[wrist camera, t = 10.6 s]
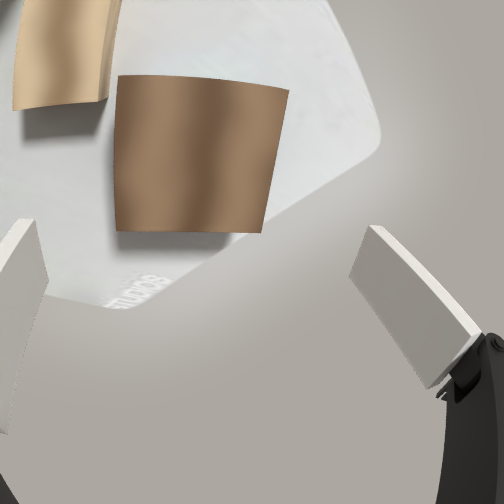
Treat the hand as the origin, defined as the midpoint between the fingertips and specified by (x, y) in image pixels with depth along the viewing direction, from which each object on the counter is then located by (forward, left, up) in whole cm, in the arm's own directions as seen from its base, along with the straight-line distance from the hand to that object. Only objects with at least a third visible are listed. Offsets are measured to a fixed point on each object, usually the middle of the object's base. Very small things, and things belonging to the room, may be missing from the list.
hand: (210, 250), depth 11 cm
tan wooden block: (-12, +11, -19) cm, 24 cm away
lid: (0, 0, -15) cm, 15 cm away
